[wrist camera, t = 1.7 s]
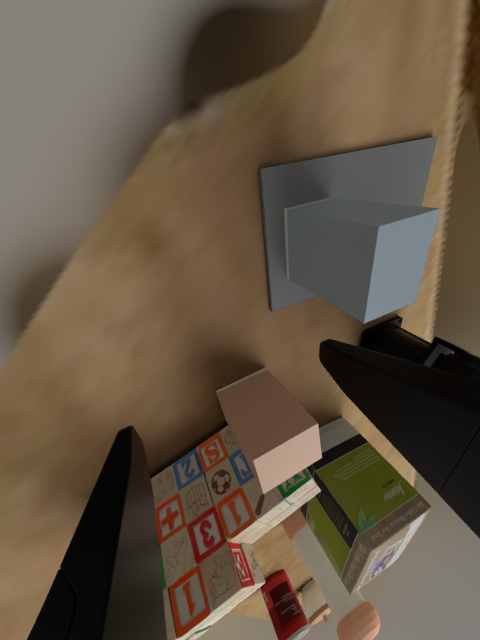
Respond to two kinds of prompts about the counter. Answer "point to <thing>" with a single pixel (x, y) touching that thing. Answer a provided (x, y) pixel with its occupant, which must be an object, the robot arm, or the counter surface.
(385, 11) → the counter surface
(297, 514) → the salt shaker
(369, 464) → the tea box
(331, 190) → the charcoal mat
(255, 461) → the dusty pink block
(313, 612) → the lidded jar
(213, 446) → the stack of blocks
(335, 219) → the slate blue block
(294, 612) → the canned food
